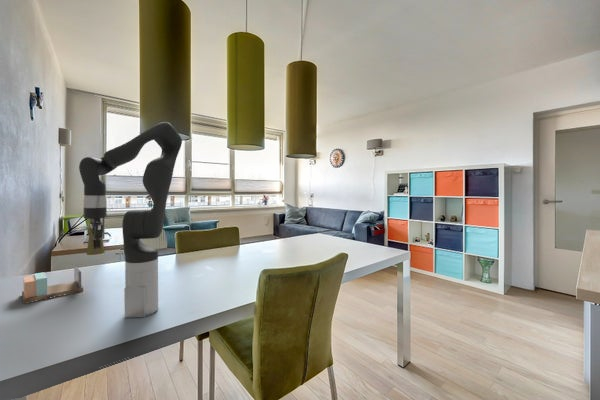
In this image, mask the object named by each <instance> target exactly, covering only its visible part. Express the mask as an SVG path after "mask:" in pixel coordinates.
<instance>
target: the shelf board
mask: <svg viewBox="0 0 600 400" xmlns="http://www.w3.org/2000/svg"><path fill="white" fill-rule="evenodd" d="M79 291H82V292H84V286H83V285H82V284H81V287H78V286H77V284H76V283H75V281H74V280H73V281H67V282H63V283H59V284H53V285H47V294H45V295H40V296H34V297H29V298H25V296H24V290H21V296H22V297H21V298H22V301H23V302H24V303H27V302H31V303H33V302H32V301H36V300H40V301H42V300H41V299H45V298H49V299H51V298H50V297H54V296H59V295H63V296H65V295H64V294H68V295H70V294H69V293H72V294H75V293H74V292H77V293H80V292H79ZM59 297H60V296H59ZM54 298H55V297H54ZM45 300H46V299H45ZM23 302H22V303H23ZM36 302H37V301H36ZM24 303H23V304H24ZM27 304H28V303H27Z"/></svg>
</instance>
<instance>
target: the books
mask: <svg viewBox="0 0 600 400" xmlns="http://www.w3.org/2000/svg"><path fill="white" fill-rule="evenodd" d="M22 279H23V282H22V284H23V291H24V296H25V298H29V297H34V296H40V295H45V294H47V286H48V277H47V274H46V273H45V271H44V272H43V271H42V272H36V273H34V274H32V275H28V276H27V275H26V276H23V278H22Z"/></svg>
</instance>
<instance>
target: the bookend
mask: <svg viewBox="0 0 600 400" xmlns="http://www.w3.org/2000/svg"><path fill="white" fill-rule="evenodd" d="M73 268H74V269H73V272H74V273H73V274H74V279H73V281H75V283H76V284H77V286H78V287H81V285H82V271H81V270H80V269H79V268H78V267H77V266H75V267H73Z"/></svg>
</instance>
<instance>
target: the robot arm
mask: <svg viewBox="0 0 600 400" xmlns="http://www.w3.org/2000/svg"><path fill="white" fill-rule="evenodd" d="M182 139H183V138H182V136H181V135H180V134H179V133H178V131H177V130H176V128H174V126H173V125H172V124H171V123H170V122H169V121H163V122H159V123H157V124H155V125H153V126H152V127H150V128H148V129H146V130H145V131H142V132H141V133H140V134H139V135H137V136H135V137H133V138H132V139H130V140H128V141H127V142H125V143H122V144H121V145H119V146H115V147H113V148H111V149H109V150H107V151H105V152H104V154H103V157H100V158H99V157H98V158H96V157H92V156H85V157H84V158H82V159H81V160H80V162H79V166H78V169H79V173H80V178H81V180H82V183H83V219H89V222H87V226H88V229H89V228H91V234H93V243H94V249H96V248H100V247H101V246H100V239H101V238H102V239H103V233H104V224H103V222H101V221H102V220H101V219H106V218H107V217H108V216H107V214H108V213H107V211H108V210H107V207H108V206H107V196H106V195H107V194H106V192H107V191H106V183H105V181H102V180H101V179H100V176H105V175H107V174H109V173H111V172H112V171H114V170H115V169H116V168H118V167H120V166H122V165H125V164H127V163H130V162H131V161H133V160H135V159H136V158H137V157H138V155H139V153H140V152H141V150H142V148H143V147H144V146H145V145H146V144H148V143H149V142H151V141H155V143H157V145H158V146H159V148H160V149H161V154H160V156H159V157H156V158H154V159H152V160H151V161H149V162H148V163H147V164H146V167H145V169H144V172H143V175H142V184H143V187H144V189H145V190H146V193H147V194H148V195H149V197H150V198H151V201H152V204H153V205H152V209H150V210H146V209H145V210H144V209H143V210H139V209H138V210H137V209H136V210H135V209H134V210H133V209H132V210H128V211H126V212H125V214H124V215H123V218H122V225H121V226H122V240H123V253H124V267H125V268H124V269H125V270H124V271H125V272H124V274H125V277H124V278H125V287H124V289H123V292H124V297H123V298H124V299H123V300H124V318H127V319H128V318H146V317H147V316H149V315H152V314H154V313H156V312H157V311H158V310H159V251H158V249H156V248H155V247H152V246H150V245H147V244H145V243H143V242H142V241H141V240H144V239H145V240H146V239H147V240H148V239H157V238H159V237H160V236H161V234H162V233H163V232H162V231H163V227H164V224H165V223H164V222H165V214H166V207H167V200H168V196H169V191H170V188H171V185H172V184H171V183H172V179H173V174H174V169H175V164H176V161H177V157H178V155H179V152H180V150H181V147H182V143H183V140H182ZM88 229H87V230H88ZM93 229H94V230H95V232H94V231H93ZM97 234H99V236H97Z"/></svg>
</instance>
